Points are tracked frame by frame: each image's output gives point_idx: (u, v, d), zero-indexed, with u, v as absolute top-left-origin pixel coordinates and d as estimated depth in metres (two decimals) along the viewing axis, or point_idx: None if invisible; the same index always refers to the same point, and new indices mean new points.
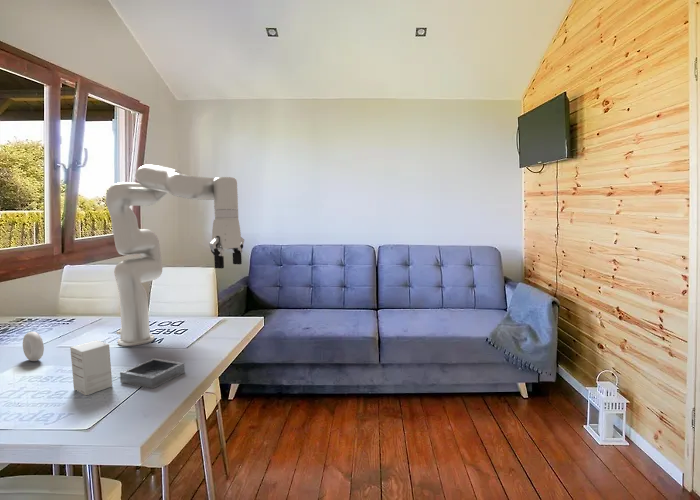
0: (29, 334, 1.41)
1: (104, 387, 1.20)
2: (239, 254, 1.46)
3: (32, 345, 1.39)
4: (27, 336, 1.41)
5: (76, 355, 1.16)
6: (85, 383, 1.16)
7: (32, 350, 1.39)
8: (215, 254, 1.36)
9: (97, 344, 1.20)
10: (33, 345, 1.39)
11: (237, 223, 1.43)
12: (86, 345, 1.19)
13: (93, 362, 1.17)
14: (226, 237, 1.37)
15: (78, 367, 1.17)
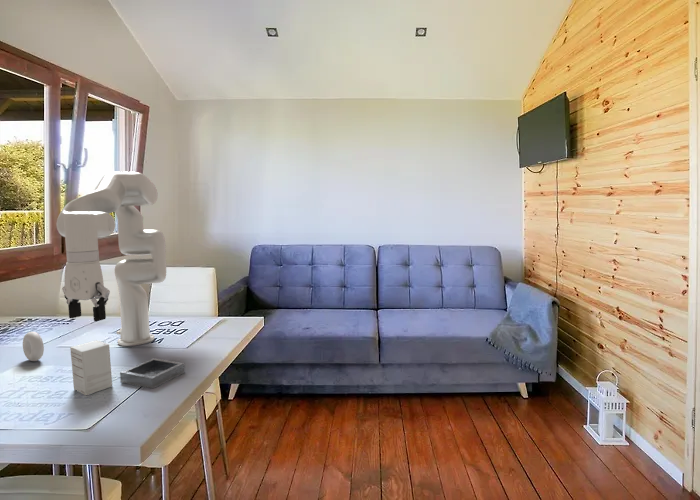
0: (29, 334, 1.41)
1: (104, 387, 1.20)
2: (79, 304, 1.21)
3: (32, 345, 1.39)
4: (27, 336, 1.41)
5: (76, 355, 1.16)
6: (85, 383, 1.16)
7: (32, 350, 1.39)
8: (102, 303, 1.15)
9: (97, 344, 1.20)
10: (33, 345, 1.39)
11: None
12: (86, 345, 1.19)
13: (93, 362, 1.17)
14: None
15: (78, 367, 1.17)
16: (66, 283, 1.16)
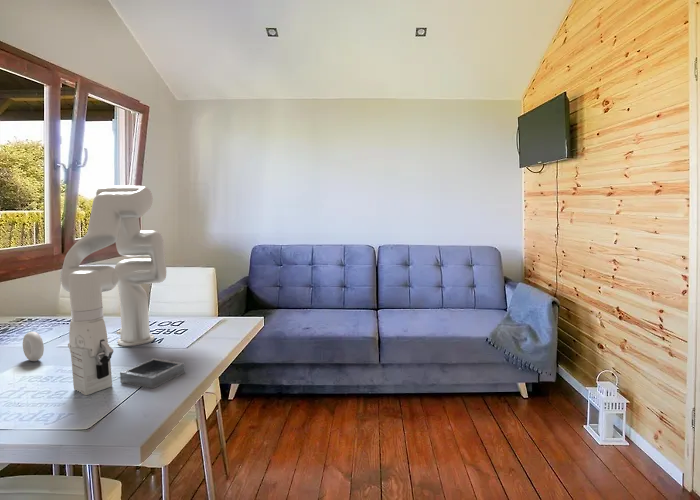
0: (29, 334, 1.41)
1: (104, 387, 1.20)
2: None
3: (32, 345, 1.39)
4: (27, 336, 1.41)
5: (76, 355, 1.16)
6: (85, 383, 1.16)
7: (32, 350, 1.39)
8: (106, 361, 1.18)
9: None
10: (33, 345, 1.39)
11: None
12: None
13: (93, 362, 1.17)
14: None
15: (78, 367, 1.17)
16: (71, 339, 1.18)
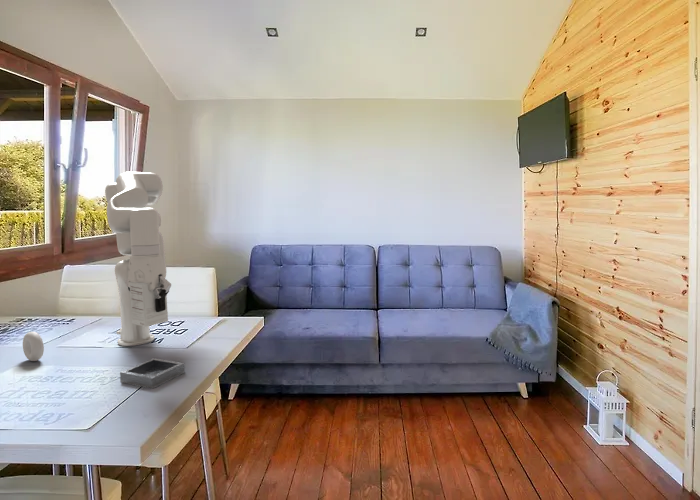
0: (29, 334, 1.41)
1: (161, 321, 1.25)
2: None
3: (32, 345, 1.39)
4: (27, 336, 1.41)
5: (136, 288, 1.22)
6: (145, 315, 1.21)
7: (32, 350, 1.39)
8: (164, 295, 1.23)
9: None
10: (33, 345, 1.39)
11: None
12: None
13: (152, 295, 1.23)
14: None
15: (138, 300, 1.22)
16: (131, 274, 1.24)
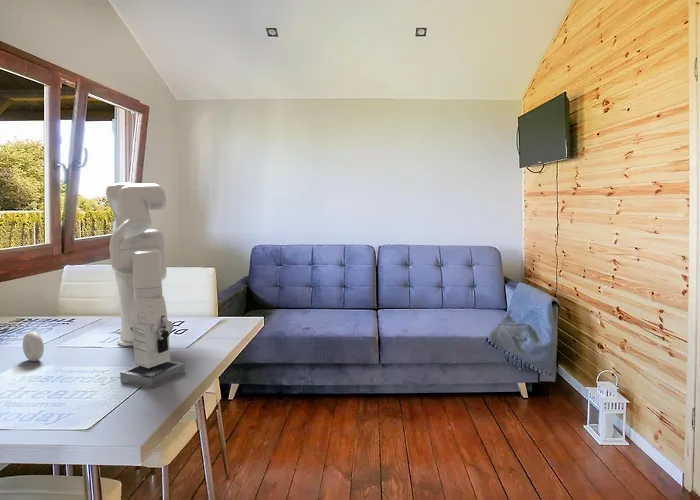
0: (29, 334, 1.41)
1: (163, 361, 1.27)
2: None
3: (32, 345, 1.39)
4: (27, 336, 1.41)
5: (138, 330, 1.23)
6: (147, 356, 1.22)
7: (32, 350, 1.39)
8: (166, 336, 1.24)
9: None
10: (33, 345, 1.39)
11: None
12: None
13: (154, 337, 1.24)
14: None
15: (140, 342, 1.23)
16: (133, 316, 1.25)
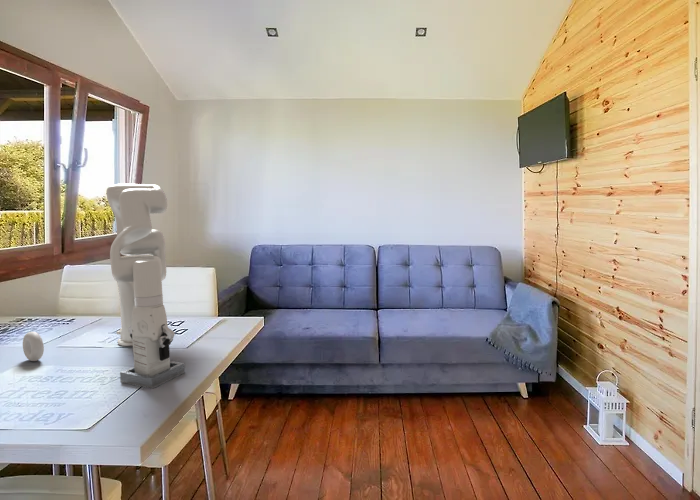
0: (29, 334, 1.41)
1: None
2: None
3: (32, 345, 1.39)
4: (27, 336, 1.41)
5: (139, 343, 1.24)
6: (148, 369, 1.23)
7: (32, 350, 1.39)
8: (167, 344, 1.25)
9: None
10: (33, 345, 1.39)
11: None
12: None
13: (155, 350, 1.24)
14: None
15: (141, 355, 1.24)
16: (134, 324, 1.25)
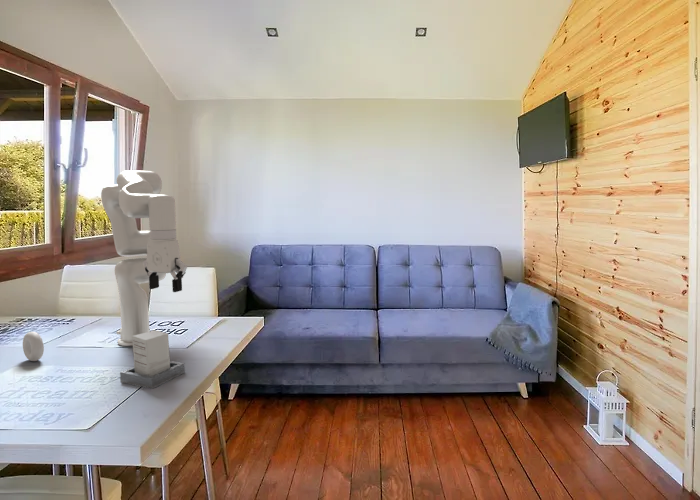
0: (29, 334, 1.41)
1: None
2: (158, 277, 1.36)
3: (32, 345, 1.39)
4: (27, 336, 1.41)
5: (139, 343, 1.24)
6: (148, 369, 1.23)
7: (32, 350, 1.39)
8: (180, 277, 1.30)
9: (157, 333, 1.28)
10: (33, 345, 1.39)
11: None
12: (147, 334, 1.27)
13: (155, 350, 1.24)
14: None
15: (141, 355, 1.24)
16: (149, 257, 1.31)
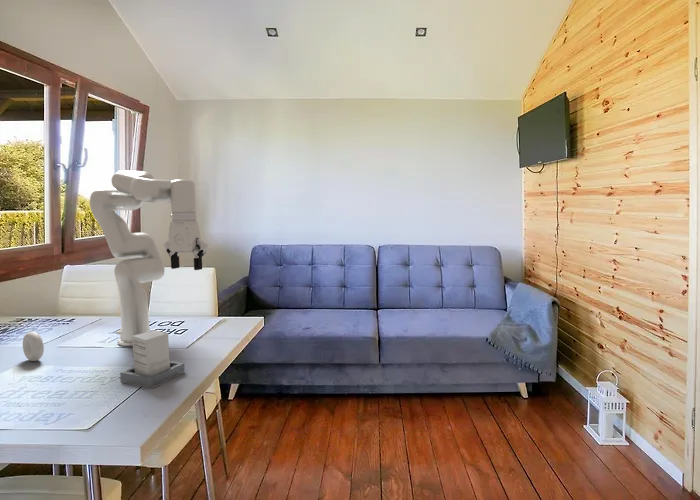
0: (29, 334, 1.41)
1: None
2: (178, 257, 1.45)
3: (32, 345, 1.39)
4: (27, 336, 1.41)
5: (139, 343, 1.24)
6: (148, 369, 1.23)
7: (32, 350, 1.39)
8: (201, 255, 1.39)
9: (157, 333, 1.28)
10: (33, 345, 1.39)
11: None
12: (147, 334, 1.27)
13: (155, 350, 1.24)
14: None
15: (141, 355, 1.24)
16: (171, 238, 1.40)
